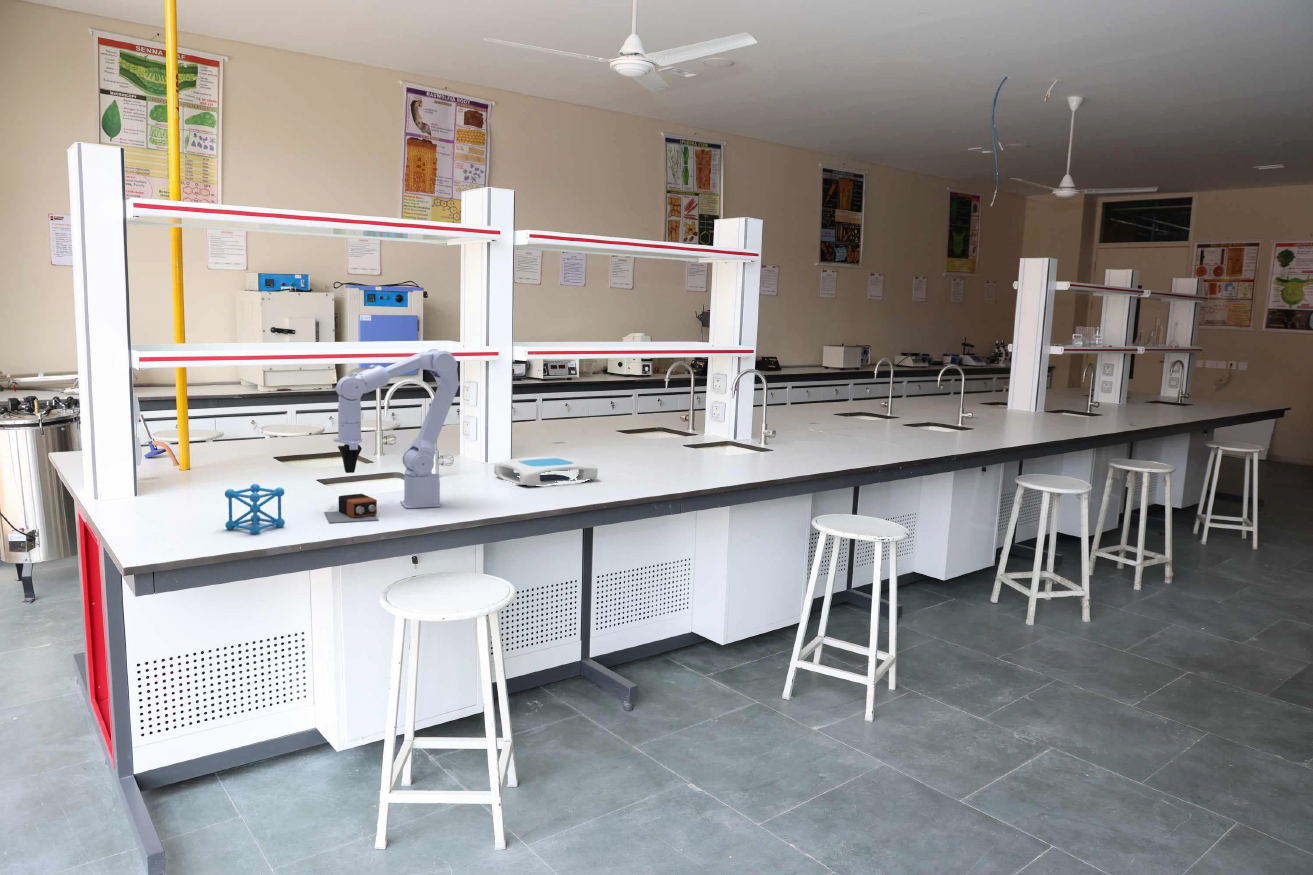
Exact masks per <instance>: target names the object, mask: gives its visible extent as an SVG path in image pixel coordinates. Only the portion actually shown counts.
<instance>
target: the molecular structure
mask: <svg viewBox="0 0 1313 875" xmlns="http://www.w3.org/2000/svg"><path fill="white" fill-rule="evenodd" d="M248 492H251V494H243V493H248ZM259 492H266V493H263V494H259ZM284 495H285V489H284V488H282V487H279V486H278V487H276V488H275V489H270V488H263V487H261V486H260V485H259V484H258V483H253V484H251V485H250V487H249V488H248V487H247V488H244V489H240V490H239V489H238V490H236V491H235V490H234V489H233V488H229V489H226V490H225V492H224V496H225V498H226V499H228V520H227V521H226V523H225V525H224V526H225V528H226V529H227V530H228V531H233V530H235V529H242V530H249V532H250V533H251V534H253V535H258V534H259V533H260V532H261V530H263V529H268V528H271V527H274V526H275V527H276V528H283V527H284V526H285V524H286V522H285V519H284V518H283V517H282V497H283V496H284ZM266 497H268V498H266ZM276 497H277V518H276V517H274V516H272V515H271V514H268V513H266V512H265V511H263V510H262V509H261V507H262V506H263V505H265V504H267V503H268V502H270V501H272V500H273V499H274V498H276ZM243 498H245V499H249V501H250V502H251V503H250V502H248V501H246V500H245V499H243ZM262 498H265V500H263V501H261V502H260V500H261V499H262ZM233 499H235V500H237V501H238V502H240V503H242V504H244V505H245V506H247V507H249V510H248V511H246V512H245V513H244V514H242V515H241V516H239V517H238V518H236V519H235V520H233ZM259 502H260V503H259ZM252 503H253V504H252ZM258 503H259V504H258ZM258 513H259V514H261V515H262V516H264V517H266V518H268V519H266V518H262V517H261V515H259V514H258ZM250 514H251V516H250V518H246V517H247V516H249V515H250ZM245 518H246V519H245ZM243 519H244V520H243ZM250 522H251V523H252V525H251V526H247V525H244V524H247V523H250ZM260 522H265V523H268V524H265V525H264V524H263V525H259V523H260Z"/></svg>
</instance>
